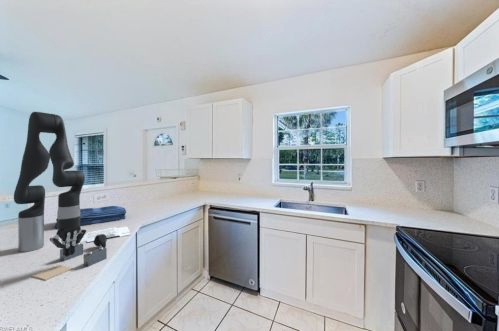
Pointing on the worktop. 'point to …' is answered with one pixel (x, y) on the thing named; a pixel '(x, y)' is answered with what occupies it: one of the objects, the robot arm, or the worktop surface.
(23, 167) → the robot arm
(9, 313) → the worktop surface
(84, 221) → the towel
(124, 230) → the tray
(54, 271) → the mat
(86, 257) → the metal blocks
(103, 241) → the power plug
